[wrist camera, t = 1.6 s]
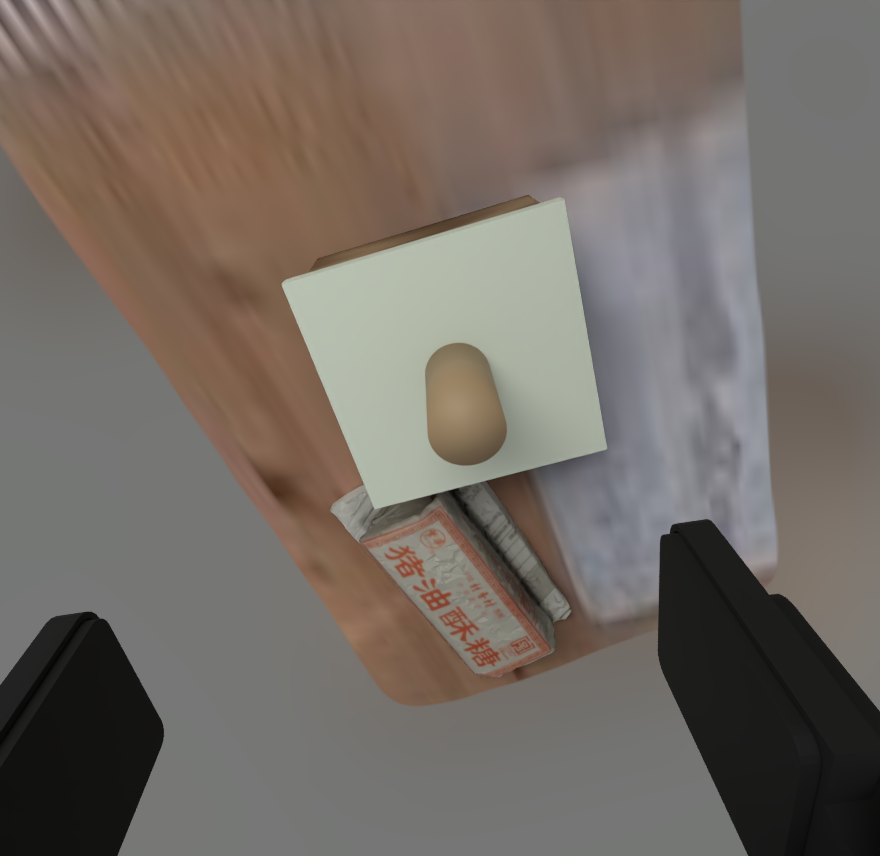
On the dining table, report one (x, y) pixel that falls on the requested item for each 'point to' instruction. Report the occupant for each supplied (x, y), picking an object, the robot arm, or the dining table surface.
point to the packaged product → (463, 572)
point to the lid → (456, 354)
